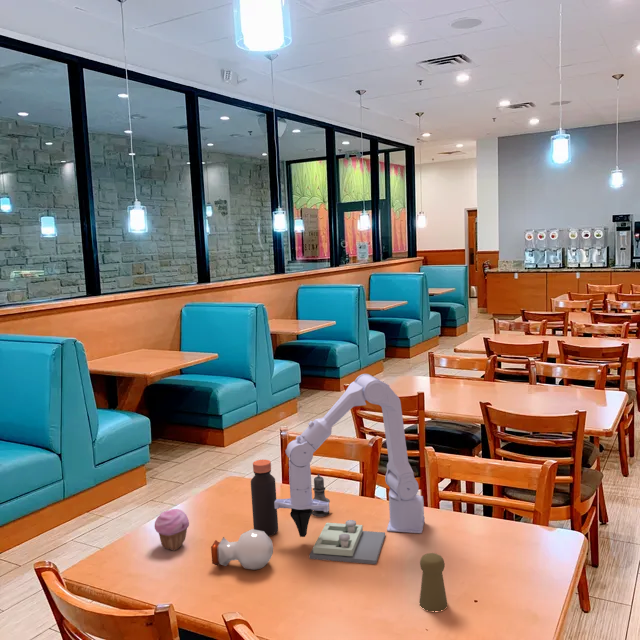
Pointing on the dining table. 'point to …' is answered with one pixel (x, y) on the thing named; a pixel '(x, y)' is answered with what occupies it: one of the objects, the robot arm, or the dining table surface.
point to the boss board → (357, 547)
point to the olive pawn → (432, 583)
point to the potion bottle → (244, 550)
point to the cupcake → (172, 528)
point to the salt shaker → (319, 495)
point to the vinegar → (264, 498)
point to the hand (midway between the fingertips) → (303, 535)
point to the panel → (336, 540)
